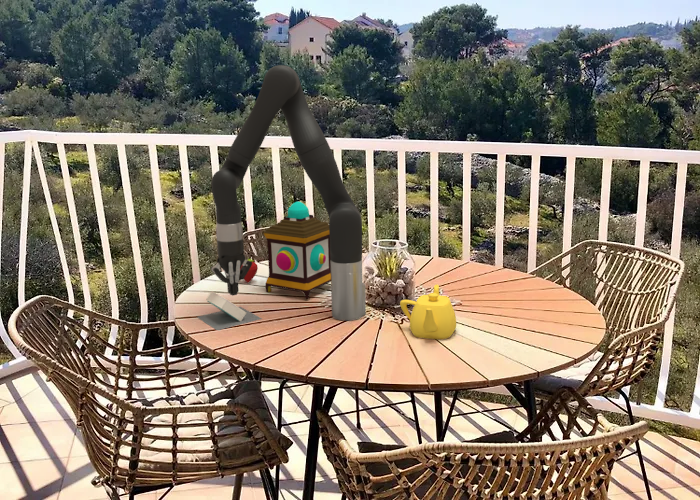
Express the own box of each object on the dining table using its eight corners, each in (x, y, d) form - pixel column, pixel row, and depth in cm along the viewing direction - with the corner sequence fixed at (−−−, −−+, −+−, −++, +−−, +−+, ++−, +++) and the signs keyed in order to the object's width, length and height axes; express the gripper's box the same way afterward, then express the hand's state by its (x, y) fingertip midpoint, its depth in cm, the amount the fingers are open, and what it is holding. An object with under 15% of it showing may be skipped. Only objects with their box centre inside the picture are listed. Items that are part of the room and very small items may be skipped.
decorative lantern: (308, 303, 208) (305, 209, 201) (259, 293, 218) (254, 204, 211) (342, 286, 225) (340, 198, 217) (295, 278, 235) (291, 194, 227)
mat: (240, 307, 205) (240, 306, 205) (262, 319, 194) (262, 318, 194) (196, 318, 197) (196, 316, 197) (217, 331, 186) (217, 330, 186)
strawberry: (241, 279, 234) (239, 252, 232) (261, 280, 232) (259, 253, 230) (234, 284, 229) (232, 256, 226) (254, 285, 227) (253, 257, 224)
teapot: (405, 315, 195) (405, 280, 193) (458, 318, 192) (459, 283, 189) (393, 344, 175) (393, 305, 172) (452, 348, 171) (453, 308, 169)
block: (230, 304, 201) (211, 291, 196) (246, 312, 193) (226, 299, 188) (224, 313, 200) (205, 300, 195) (240, 322, 192) (220, 309, 187)
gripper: (214, 243, 184) (218, 302, 188) (256, 236, 191) (259, 293, 196) (203, 238, 190) (207, 295, 194) (244, 232, 197) (247, 287, 202)
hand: (233, 294), depth 195 cm, fingers closed
